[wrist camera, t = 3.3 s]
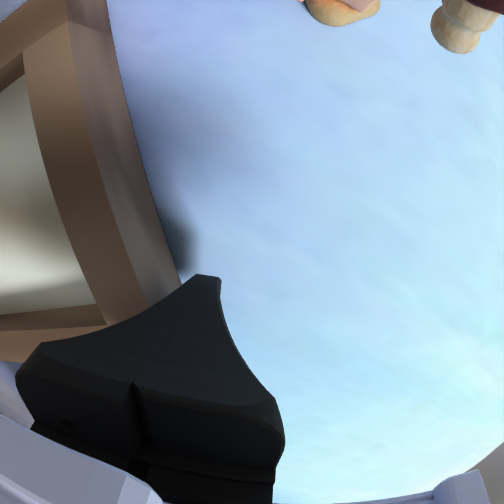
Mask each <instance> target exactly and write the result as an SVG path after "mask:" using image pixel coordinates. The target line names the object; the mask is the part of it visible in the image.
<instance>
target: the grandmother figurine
mask: <svg viewBox="0 0 504 504" xmlns="http://www.w3.org/2000/svg"><path fill="white" fill-rule="evenodd" d="M296 1H299V2H302V1H304V0H296ZM306 4H307V6H308V9H309V11H310V13H311V14H312V15H313V16H314V18H315V19H317V20H318V21H320V22H321V23H323V24H325V25H328V26H334V27H340V26H344V25H347V24H350V23H353V22H356V21H358V20H361V19H364V18H367V17H370V16H372V15H374V14H375V13H377V12H378V10H379V8H380V0H306ZM442 4H443V5H442V6H441V7H439V8H438V9H437V10H436V11H435V12H434V14H433V16H432V19H431V24H430V25H431V31H432V34H433V36H434V38H435V39H436V41H437V42H438V43H439V44H440V45H441V46H442V47H444V48H445V49H446V50H448V51H450V52H453V53H458V54H466V53H469V52H472V51H473V50H474V49H475V48H476V46H477V45H478V43H479V40H480V33H481V32H484V31H486V30H488V29H489V28H490V27H491V26H492V25H493V23H494V22H495V20H496V19H497V18H498V16H499V15H500V14H502V15H504V0H442Z"/></svg>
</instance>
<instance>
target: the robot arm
mask: <svg viewBox="0 0 504 504" xmlns="http://www.w3.org/2000/svg"><path fill="white" fill-rule="evenodd" d="M220 291H221V279H220V278H219V277H214V276H207V275H201V274H196V275H194V276H193V277H191V278H190V279H189V280H188V281H186V282H185V283H184V284H182V285H181V286H180V287H179V288H177V289H176V290H175V291H173V292H172V293H170V294H169V295H168V296H166V297H165V298H164V299H162V300H160V301H159V302H157V303H156V304H154V305H153V306H151V307H150V308H148V309H146V310H144V311H143V312H141V313H139V314H137V315H135V316H133V317H131V318H129V319H127V320H124V321H122V322H119V323H117V324H114V325H112V326H109V327H106V328H104V329H101V330H98V331H95V332H91V333H88V334H84V335H80V336H76V337H71V338H66V339H60V340H54V341H47V342H41V343H40V344H39V345H38V346H37V347H36V348H35V350H34V351H33V352H32V353H31V355H30V356H29V357H28V358H27V360H26V361H25V362H24V363H23V365H22V366H21V367H20V368H19V370H18V371H17V373H16V375H15V381H16V387H17V389H18V392H19V394H20V396H21V398H22V400H23V401H24V403H25V405H26V407H27V408H28V410H29V412H30V414H31V415H32V417H33V419H34V420H35V422H34V423H33V425H32V427H31V428H30V429H28V428H26V427H24V426H22V425H20V424H18V423H17V422H15V421H13V420H11V419H10V418H8V417H6V416H4V415H1V414H0V504H278V503H272V496H273V485H274V483H275V473H276V466H277V464H278V462H279V460H280V458H281V456H282V453H283V451H284V447H285V434H284V428H283V423H282V419H281V415H280V412H279V409H278V406H277V403H276V400H275V398H274V397H273V396H272V395H271V394H270V393H269V392H268V391H267V390H266V388H265V387H264V386H263V385H262V384H261V383H260V382H259V380H258V379H257V378H256V377H255V375H254V374H253V373H252V371H251V370H250V369H249V367H248V366H247V364H246V362H245V361H244V359H243V358H242V356H241V355H240V353H239V351H238V349H237V347H236V345H235V344H234V341H233V339H232V337H231V335H230V332H229V330H228V327H227V324H226V321H225V318H224V314H223V310H222V305H221V300H220ZM336 504H490V501H489V498H488V495H487V493H486V489H485V486H484V483H483V480H482V477H481V474H480V471H479V470H473V471H470V472H466V473H463V474H459V475H455V476H452V477H449V478H447V479H445V480H444V481H442V482H441V483H439V484H438V485H437V486H436V487H435V488H434V489H433V490H432V491H427V492H423V493H418V494H412V495H407V496H401V497H395V498H388V499H381V500H373V501H363V502H352V503H336Z"/></svg>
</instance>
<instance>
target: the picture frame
mask: <svg viewBox="0 0 504 504" xmlns="http://www.w3.org/2000/svg"><path fill="white" fill-rule="evenodd" d="M181 285H182V284H181V281H180V278H179V276H178V273H177V270H176V267H175V264H174V262H173V259H172V256H171V253H170V250H169V247H168V244H167V241H166V238H165V235H164V232H163V229H162V226H161V223H160V220H159V217H158V214H157V210H156V207H155V204H154V201H153V198H152V194H151V191H150V188H149V184H148V181H147V178H146V174H145V171H144V167H143V164H142V160H141V157H140V153H139V149H138V146H137V142H136V138H135V134H134V131H133V127H132V123H131V119H130V115H129V111H128V107H127V103H126V98H125V94H124V90H123V85H122V81H121V76H120V72H119V67H118V62H117V58H116V53H115V48H114V42H113V37H112V32H111V26H110V20H109V15H108V8H107V2H106V0H28V1H27V2H25V3H24V4H23V5H22V6H20V7H19V8H18V9H17V10H15V11H14V12H13V13H12V14H10V15H9V16H8V17H7V18H6V19H5V20H3V21H2V22H1V23H0V361H8V362H19V363H24V362H25V361H26V360H27V358H28V357H29V356H30V355H31V353H32V352H33V351H34V350H35V348H36V347H37V346H38V345H39V344H40V343H41V342H47V341H54V340H60V339H66V338H71V337H76V336H80V335H84V334H88V333H91V332H95V331H98V330H101V329H104V328H106V327H109V326H112V325H114V324H117V323H119V322H122V321H124V320H127V319H129V318H131V317H133V316H135V315H137V314H139V313H141V312H143V311H144V310H146V309H148V308H150V307H151V306H153V305H154V304H156V303H157V302H159V301H160V300H162V299H164V298H165V297H166V296H168V295H169V294H170V293H172V292H173V291H175V290H176V289H177V288H179V287H180V286H181Z"/></svg>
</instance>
